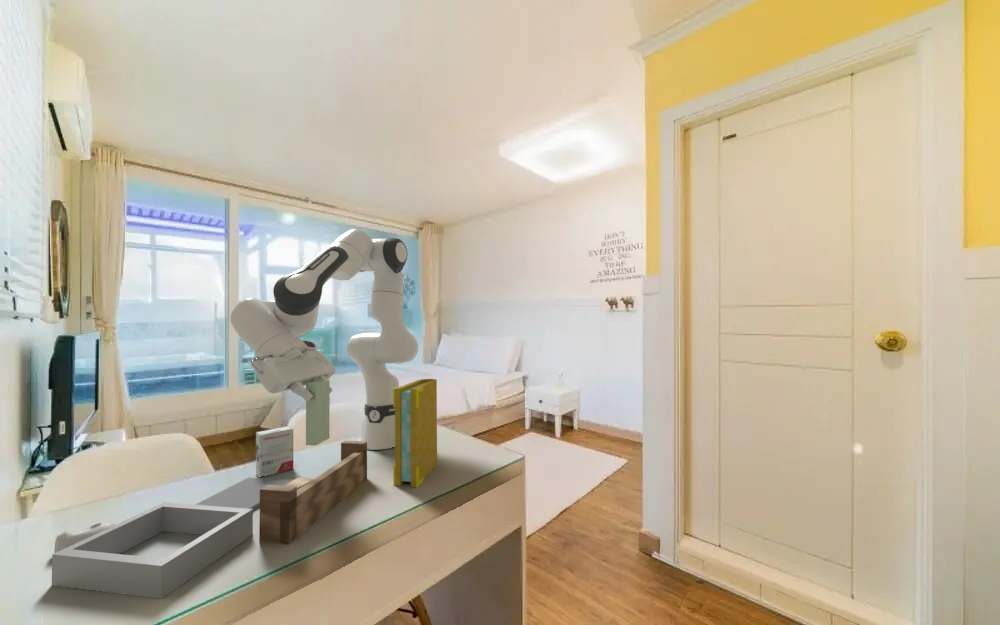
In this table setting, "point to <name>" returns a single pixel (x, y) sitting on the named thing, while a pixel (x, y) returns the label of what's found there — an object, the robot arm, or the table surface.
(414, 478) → the book
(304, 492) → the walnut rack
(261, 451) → the ink box
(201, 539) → the grey tray frame
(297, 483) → the wooden block
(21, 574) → the table surface
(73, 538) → the pale two-lobed sculpture
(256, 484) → the slate mat
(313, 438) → the pale green block
